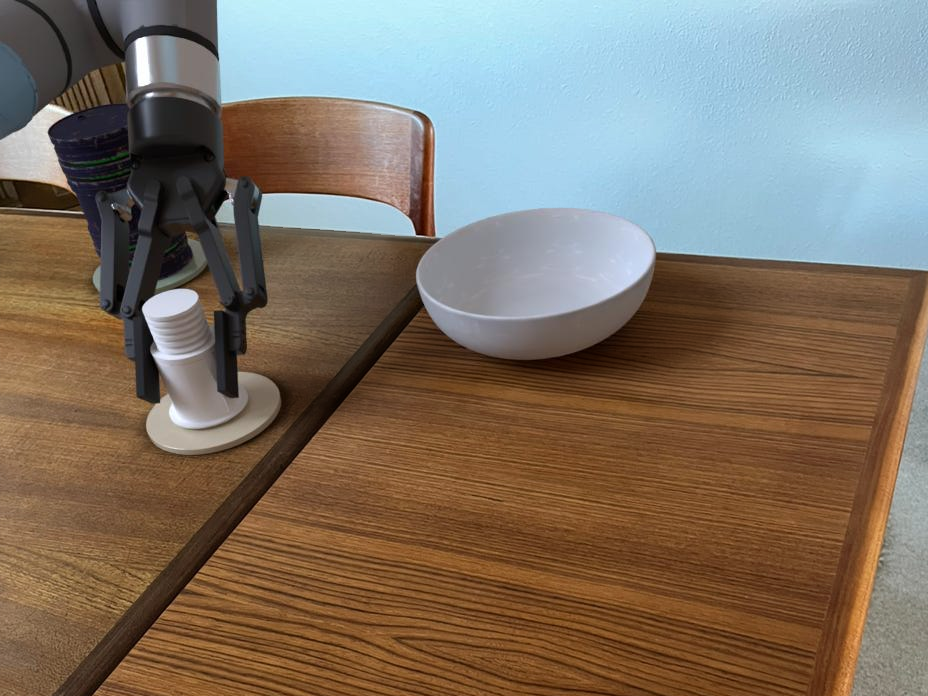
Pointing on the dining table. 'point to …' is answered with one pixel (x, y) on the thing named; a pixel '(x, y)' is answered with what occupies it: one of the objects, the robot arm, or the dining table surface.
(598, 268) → the serving bowl
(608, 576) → the dining table surface
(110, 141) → the storage jar
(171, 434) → the near coaster
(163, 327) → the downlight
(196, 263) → the far coaster
